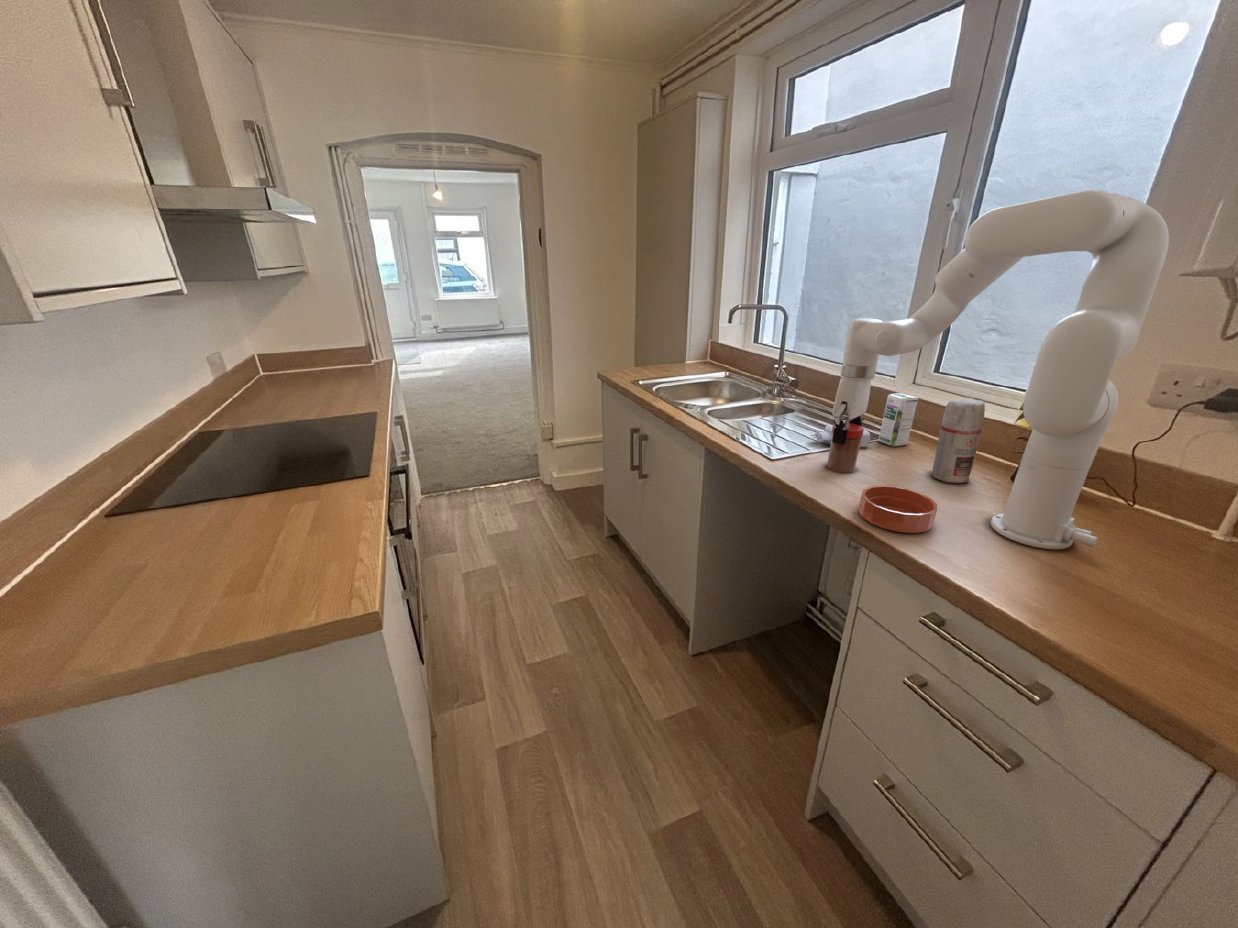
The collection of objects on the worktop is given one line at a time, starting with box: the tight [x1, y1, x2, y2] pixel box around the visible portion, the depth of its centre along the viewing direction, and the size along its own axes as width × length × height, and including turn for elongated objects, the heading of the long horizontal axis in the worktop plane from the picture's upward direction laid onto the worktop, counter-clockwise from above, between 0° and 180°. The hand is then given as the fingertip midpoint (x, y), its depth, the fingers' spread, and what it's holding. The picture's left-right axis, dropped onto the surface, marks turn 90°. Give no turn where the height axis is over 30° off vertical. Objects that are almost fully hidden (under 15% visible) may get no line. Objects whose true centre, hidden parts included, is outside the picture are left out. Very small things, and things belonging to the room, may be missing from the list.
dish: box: [858, 485, 938, 534], centre depth 100 cm, size 14×14×4 cm
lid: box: [832, 422, 865, 438], centre depth 123 cm, size 7×7×2 cm
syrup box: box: [878, 392, 919, 447], centre depth 141 cm, size 6×6×14 cm
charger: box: [810, 424, 871, 448], centre depth 143 cm, size 5×9×15 cm
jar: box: [826, 434, 861, 474], centre depth 125 cm, size 7×7×11 cm
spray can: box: [930, 399, 986, 484], centre depth 116 cm, size 8×8×20 cm
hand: (846, 439), depth 124 cm, fingers open, 7 cm apart
